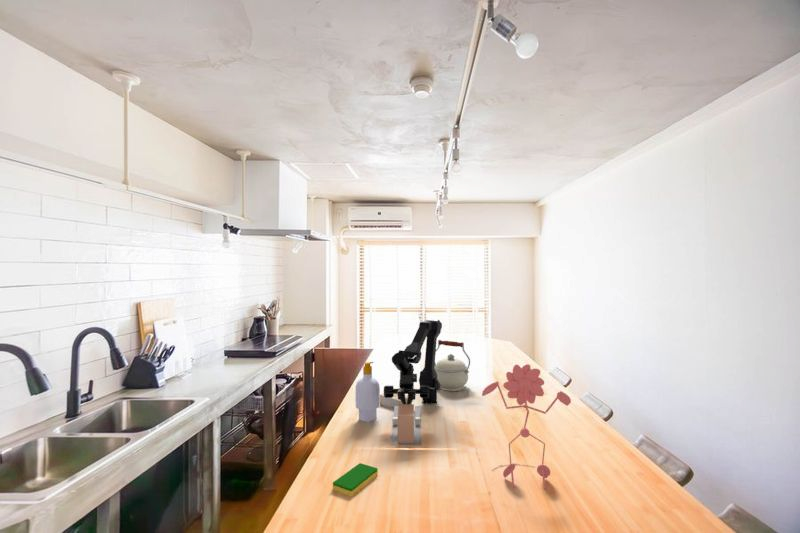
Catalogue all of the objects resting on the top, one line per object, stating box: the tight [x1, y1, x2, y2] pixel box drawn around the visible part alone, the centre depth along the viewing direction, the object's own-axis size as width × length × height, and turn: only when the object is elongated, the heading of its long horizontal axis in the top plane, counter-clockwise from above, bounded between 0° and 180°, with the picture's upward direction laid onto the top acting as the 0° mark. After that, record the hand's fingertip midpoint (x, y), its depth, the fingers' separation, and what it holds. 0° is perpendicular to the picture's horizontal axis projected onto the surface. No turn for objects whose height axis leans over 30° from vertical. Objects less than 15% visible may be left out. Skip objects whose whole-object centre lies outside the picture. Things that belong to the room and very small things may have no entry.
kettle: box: [434, 339, 471, 392], centre depth 216 cm, size 25×18×25 cm
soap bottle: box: [355, 361, 381, 422], centre depth 171 cm, size 10×10×24 cm
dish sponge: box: [332, 462, 379, 497], centre depth 121 cm, size 7×14×2 cm, turn 150°
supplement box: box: [380, 393, 413, 409], centre depth 187 cm, size 8×5×13 cm
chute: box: [390, 405, 423, 446], centre depth 162 cm, size 11×34×3 cm, turn 178°
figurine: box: [481, 363, 572, 490], centre depth 124 cm, size 15×26×35 cm, turn 84°
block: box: [398, 403, 415, 443], centre depth 152 cm, size 6×12×10 cm, turn 178°
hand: (406, 411), depth 159 cm, fingers closed, pressing on block
